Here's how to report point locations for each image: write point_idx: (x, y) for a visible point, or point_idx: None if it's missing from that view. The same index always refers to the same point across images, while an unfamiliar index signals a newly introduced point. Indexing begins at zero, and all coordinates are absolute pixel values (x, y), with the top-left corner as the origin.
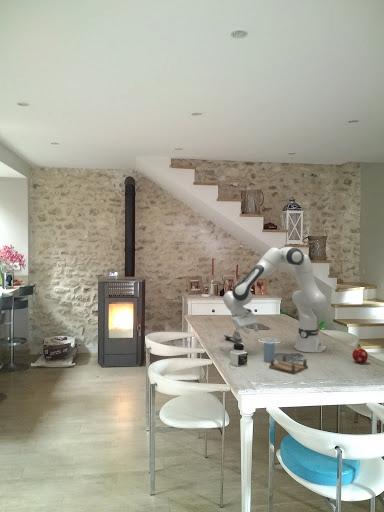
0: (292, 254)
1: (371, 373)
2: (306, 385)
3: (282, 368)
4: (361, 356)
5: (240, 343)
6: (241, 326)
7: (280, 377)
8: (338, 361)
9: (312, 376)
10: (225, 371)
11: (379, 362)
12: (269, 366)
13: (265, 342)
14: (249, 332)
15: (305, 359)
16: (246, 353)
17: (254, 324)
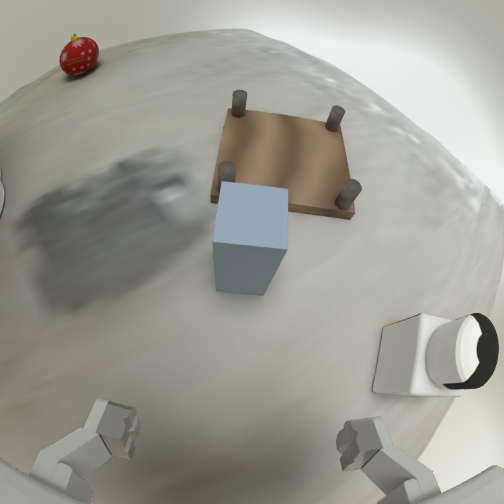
0: None
1: (171, 39)
2: (381, 101)
3: (342, 159)
4: (97, 46)
5: (481, 340)
6: (484, 470)
7: (394, 156)
8: (87, 95)
9: (305, 95)
10: None
11: None
12: (352, 213)
13: (267, 245)
14: (350, 421)
15: (239, 92)
16: (426, 314)
17: (68, 489)
